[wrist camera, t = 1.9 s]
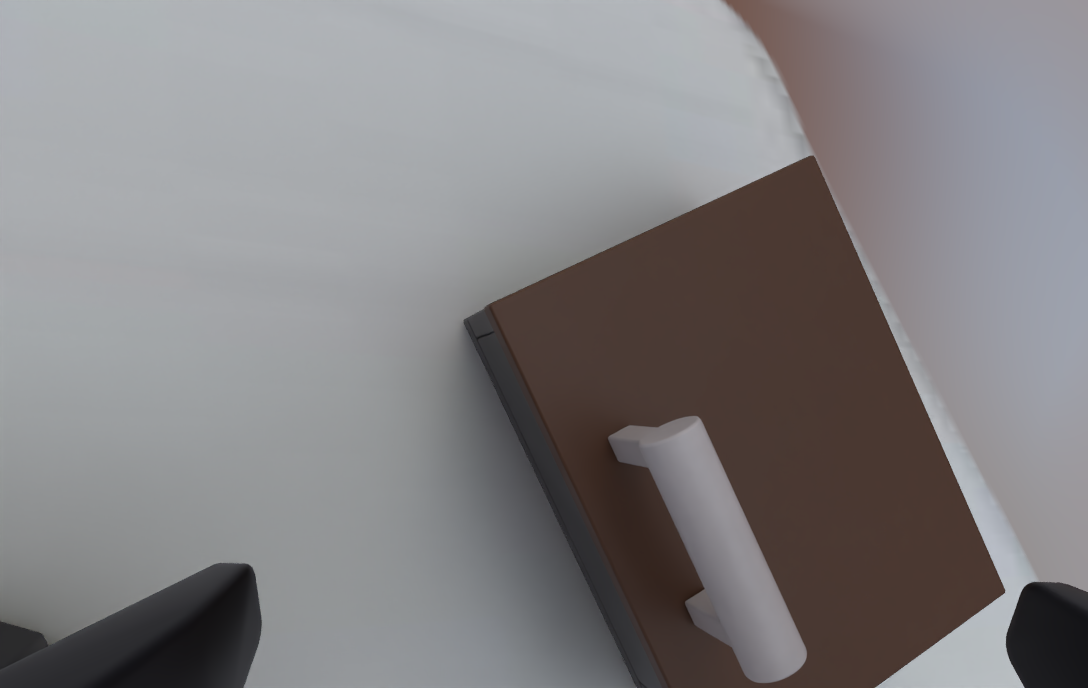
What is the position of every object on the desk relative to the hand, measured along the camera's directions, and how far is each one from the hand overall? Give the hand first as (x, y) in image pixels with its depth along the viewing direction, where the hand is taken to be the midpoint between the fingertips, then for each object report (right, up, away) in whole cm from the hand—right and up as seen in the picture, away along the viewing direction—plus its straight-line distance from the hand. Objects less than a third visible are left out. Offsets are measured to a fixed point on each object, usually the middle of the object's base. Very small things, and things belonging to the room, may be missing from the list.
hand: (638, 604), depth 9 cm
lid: (+5, 0, +12) cm, 13 cm away
